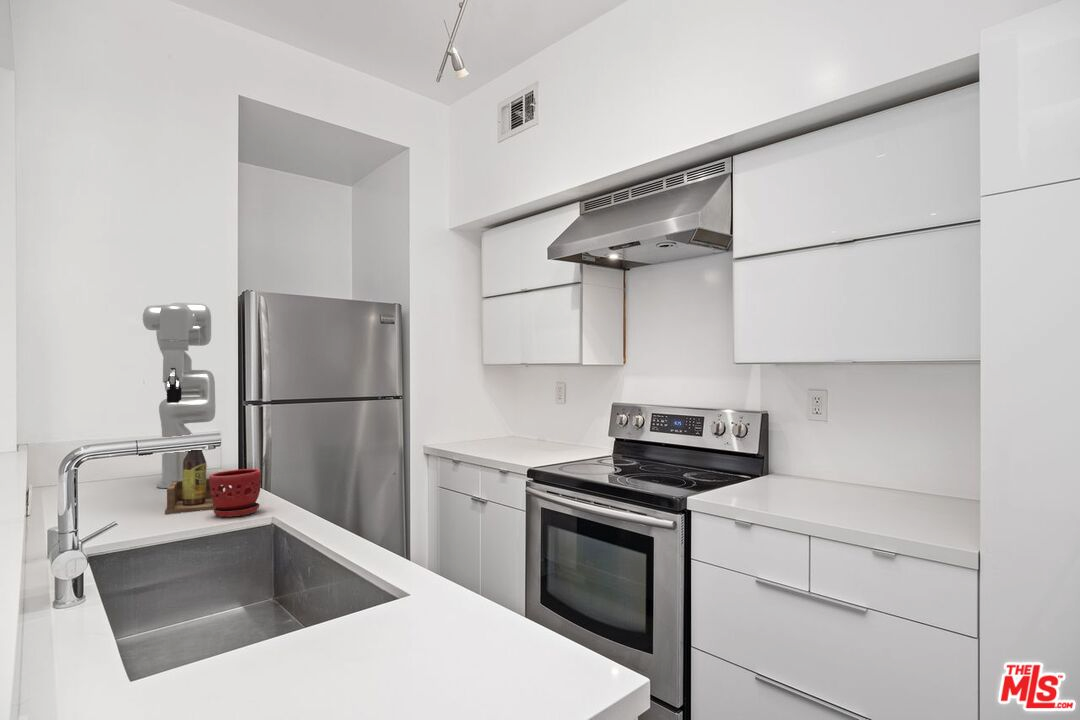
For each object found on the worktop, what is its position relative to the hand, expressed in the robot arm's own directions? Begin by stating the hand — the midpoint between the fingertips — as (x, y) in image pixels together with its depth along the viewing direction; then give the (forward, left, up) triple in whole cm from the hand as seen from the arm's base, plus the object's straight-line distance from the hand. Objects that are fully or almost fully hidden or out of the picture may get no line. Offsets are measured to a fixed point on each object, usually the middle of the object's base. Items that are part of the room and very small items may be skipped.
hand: (174, 401), depth 181 cm
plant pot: (+24, +17, -32) cm, 43 cm away
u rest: (+8, +6, -32) cm, 33 cm away
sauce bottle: (+8, +6, -31) cm, 32 cm away
